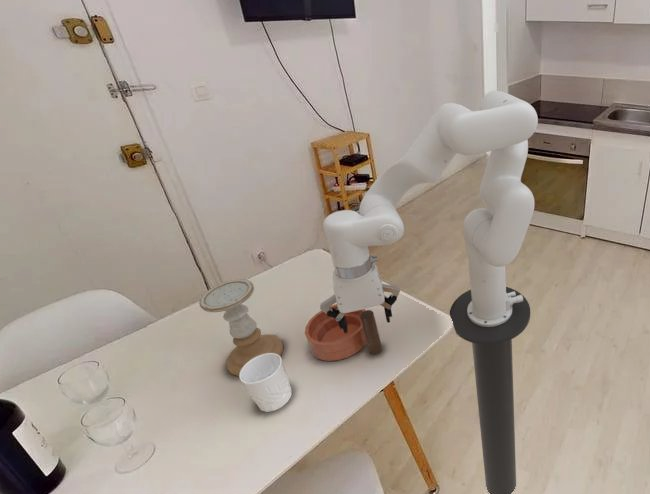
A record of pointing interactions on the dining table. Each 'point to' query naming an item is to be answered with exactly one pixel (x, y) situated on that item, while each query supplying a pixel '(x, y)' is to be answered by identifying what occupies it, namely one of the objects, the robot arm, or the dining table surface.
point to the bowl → (335, 335)
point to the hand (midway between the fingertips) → (367, 323)
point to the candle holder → (239, 323)
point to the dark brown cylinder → (371, 332)
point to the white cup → (266, 381)
